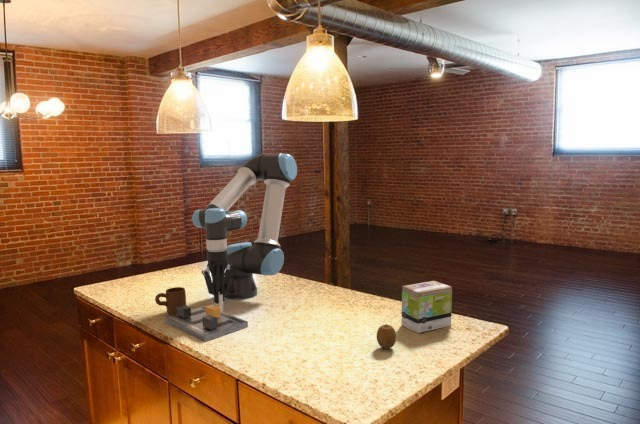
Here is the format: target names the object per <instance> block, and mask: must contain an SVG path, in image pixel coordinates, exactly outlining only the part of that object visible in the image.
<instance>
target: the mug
mask: <svg viewBox="0 0 640 424" xmlns="http://www.w3.org/2000/svg"><path fill="white" fill-rule="evenodd" d="M160 298H165V300H161V299H160ZM154 300H155V303H156V305H158V306H163V307H166V313H167V314H168V316H170V315H174V314H177V306H180V305H183V304H184V305H187V295H186V289H185V288H184V287H183V286H182V287H181V286H180V287H179V286H177V287H176V286H175V287H170V288H167V289H166V290H165V293H164V292H160V293H157V294H156V296H155V299H154Z"/></svg>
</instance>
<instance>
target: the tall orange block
mask: <svg viewBox="0 0 640 424" xmlns="http://www.w3.org/2000/svg"><path fill="white" fill-rule="evenodd" d="M205 306H206V316H207V315H211V316H214V317H216V318H217V317H221V316H220V307H217V306H216V304H211V305H210V304H209V305H205Z"/></svg>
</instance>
